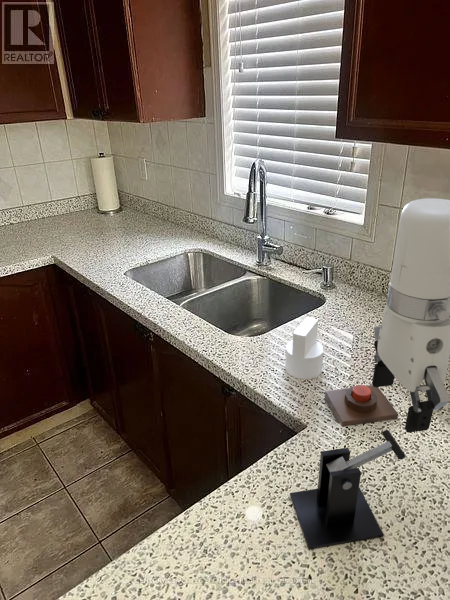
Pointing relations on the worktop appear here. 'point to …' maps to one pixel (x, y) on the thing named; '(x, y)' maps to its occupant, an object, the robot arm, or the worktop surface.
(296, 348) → the base with upright slab
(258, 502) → the worktop surface
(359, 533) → the black lever stand
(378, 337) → the robot arm
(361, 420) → the control block
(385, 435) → the lever
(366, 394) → the button
